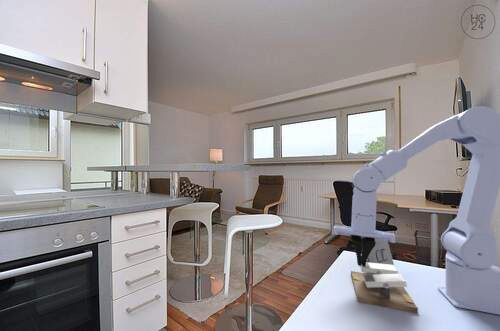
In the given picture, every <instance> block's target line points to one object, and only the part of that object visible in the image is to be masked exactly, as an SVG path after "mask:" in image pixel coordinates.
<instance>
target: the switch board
mask: <svg viewBox="0 0 500 331" xmlns="http://www.w3.org/2000/svg"><path fill="white" fill-rule="evenodd" d="M367 274H368V273H367V272H362V271H361V272H360V271H353V270H350V277H351V281H352V285H353V290H354V293H355V297H356V301H357V302H360V303H366V304H369V305H375V306H379V307H380V306H381V307H386V308H391V309H395V310H401V311H405V312H410V313H411V312H412V313H415V314H418V313H419V310H418V309H419V308H418V306H417V305H416V304H415V302H414V300H413V299H412V297H411V296H410V295H409V293H408V291H407V290H406V288H405V287H389V288H384V287H367V286H366V283H365V281H364V276H363V275H367ZM371 274H372V275H375V274H376V273H371Z"/></svg>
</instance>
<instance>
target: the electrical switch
mask: <svg viewBox="0 0 500 331" xmlns="http://www.w3.org/2000/svg"><path fill="white" fill-rule="evenodd" d="M375 242H376V244H375V247H374V248H373V249H372V251H371V252H370V254H369V256H368V258H367V261H366V262H369V263H379V264H390V265H394V266H395V264H394V259H393V255H392V253H391V247H390V245H389V241H383V240H376V239H375ZM361 255H362V252H361Z"/></svg>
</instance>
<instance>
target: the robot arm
mask: <svg viewBox="0 0 500 331" xmlns="http://www.w3.org/2000/svg"><path fill="white" fill-rule="evenodd" d="M447 140H451V141H453V142H454V143H457V144H459V145H462V146H463V147H464V148H466V149H467V150H468V151H469V152H470V153H471V154H472V156H471V160H470V163H469V167H468V170H467V171H468V172H467V176H466V179H465V184H464V187H463V192H462V195H461V199H460V203H459V207H458V212H457V215H456V217H455V218H454V219H452V220H451V221H450V222H449V224H448V227H447V229H446V230H444V232H443V233H442V234H441V236H440V242H441V245H442V247H443V248H444V249H445V250H446V254H445V287H443V286H437V289H438V291H439V292H440V293H441V294H442V295H443V296H444V297H445V298H446V299H447V300H448V301H449V302H450V303H451V304H452V305H453V306H454V307H456V308H462V309H466V310H473V311H477V312H483V313H489V314H494V315H499V316H500V267H499V266H496V265H495V264H496V263H497V262H498V259H499V252H498V248H497V247H496V245H497V236H496V234H495V233H494V231H493V229H492V228H491V222H492V218H493V214H494V210H495V208H496V207H495V206H496V202H497V198H498V196H499V191H500V113H498V112H497V111H496V110H494V109H493V108H491V107H488V106H484V105H479V106H473V107H470V108H468V109H467V110H465V111H463V112H461V113H458V114H456V115H452V116H450V117H448V118H446V119H445V120H443V121H440V122H438V123H436V124H434V125H433V126H431V127H429V128H428V129H426V130H424V131H423V132H422V133H421V134H419V135H418V136H417V137H415V138H414V139H413V140H411V141H410V142H408V143H407V144H406V145H404V146H403V147H401V148H399V149H398V150H395V149H389V150H387V151H385V150H384V151H382V152H380V153H379V156H378V157H377V158H376V159H374V160H373V161H371V162H370V163H368V162H367V163H365V164H364V165H363V166H364V168H362V169H359V170H356V172H355V173H354V174H353V176H352V178H351V182H352V185H353V189H352V192H353V195H352V200H351V201H352V205H351V222H350V224H351V225H350V226H338V225H334V226H333V235H335V236H336V235H337V236H338V235H341V236H347V237H350V240H351V242H352V245H353V248H354V251H355V255H356V262H357V265H358V266H359V267H360V266H361V263H362V266H365V265H366V261H367V258H368V256H369V254H370V252H371V251H372V249H373V248H374V247H375V244H376V242H375V239H376V240H383V241H388V242H389V243H391V244H392V243H393V244H395V243H396V235H395V233H392V232H388V231H387V232H386V231H381V230H377V229H376V224H377V222H376V220H377V205H378V204H377V203H378V202H377V201H378V198H377V190H378V189H379V188H380V186H381V183H382V182H385V181H387V180H389V179H390V178H392V177H394V176H395V175H396V174H398V173H400V172H401V171H403V170H405V169H406V168H407V167H408V161H409V160H410V159H412V158H413V157H415V156H417V155H419V153H422V152H423V151H426V150H427V149H428V148H430V147H432V146H433V145H435V144H436V143H438V142H442V141H447ZM361 252H362V254H361Z"/></svg>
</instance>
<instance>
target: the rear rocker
mask: <svg viewBox="0 0 500 331" xmlns="http://www.w3.org/2000/svg"><path fill="white" fill-rule="evenodd" d="M359 268H360V271H361V273H367V274H373V273H376V274H399V272H398V270H397V268H396V267H395V264H394V265H390V264H379V263H369V262H366V265H365V266H362V263H361V266H359Z"/></svg>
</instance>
